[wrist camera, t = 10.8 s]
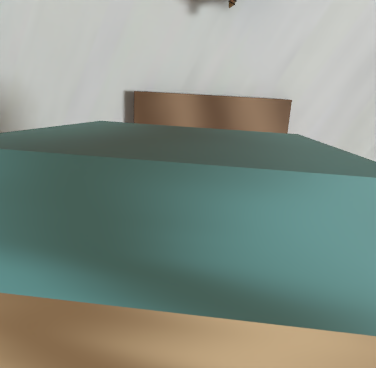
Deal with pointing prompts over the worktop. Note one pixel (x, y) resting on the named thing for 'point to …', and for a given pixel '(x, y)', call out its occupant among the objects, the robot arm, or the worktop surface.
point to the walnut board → (212, 111)
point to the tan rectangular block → (184, 249)
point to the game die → (231, 3)
